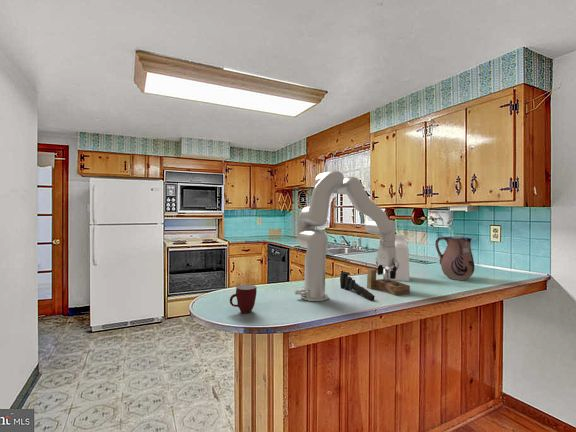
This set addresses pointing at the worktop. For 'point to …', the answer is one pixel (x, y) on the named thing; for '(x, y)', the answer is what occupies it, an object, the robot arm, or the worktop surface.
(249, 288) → the mug
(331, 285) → the worktop surface
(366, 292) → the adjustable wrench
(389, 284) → the socket block
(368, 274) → the square bit
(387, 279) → the round bit
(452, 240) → the ceramic pitcher
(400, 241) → the milk
